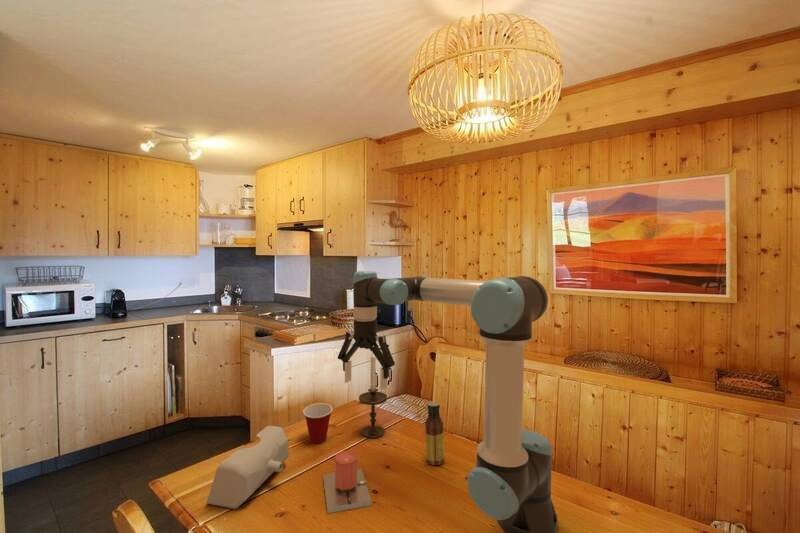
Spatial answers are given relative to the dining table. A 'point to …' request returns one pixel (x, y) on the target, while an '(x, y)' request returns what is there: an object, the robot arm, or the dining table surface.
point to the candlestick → (373, 405)
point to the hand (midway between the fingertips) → (365, 384)
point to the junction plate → (346, 494)
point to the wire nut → (345, 470)
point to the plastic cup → (317, 421)
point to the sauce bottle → (434, 435)
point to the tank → (249, 468)
